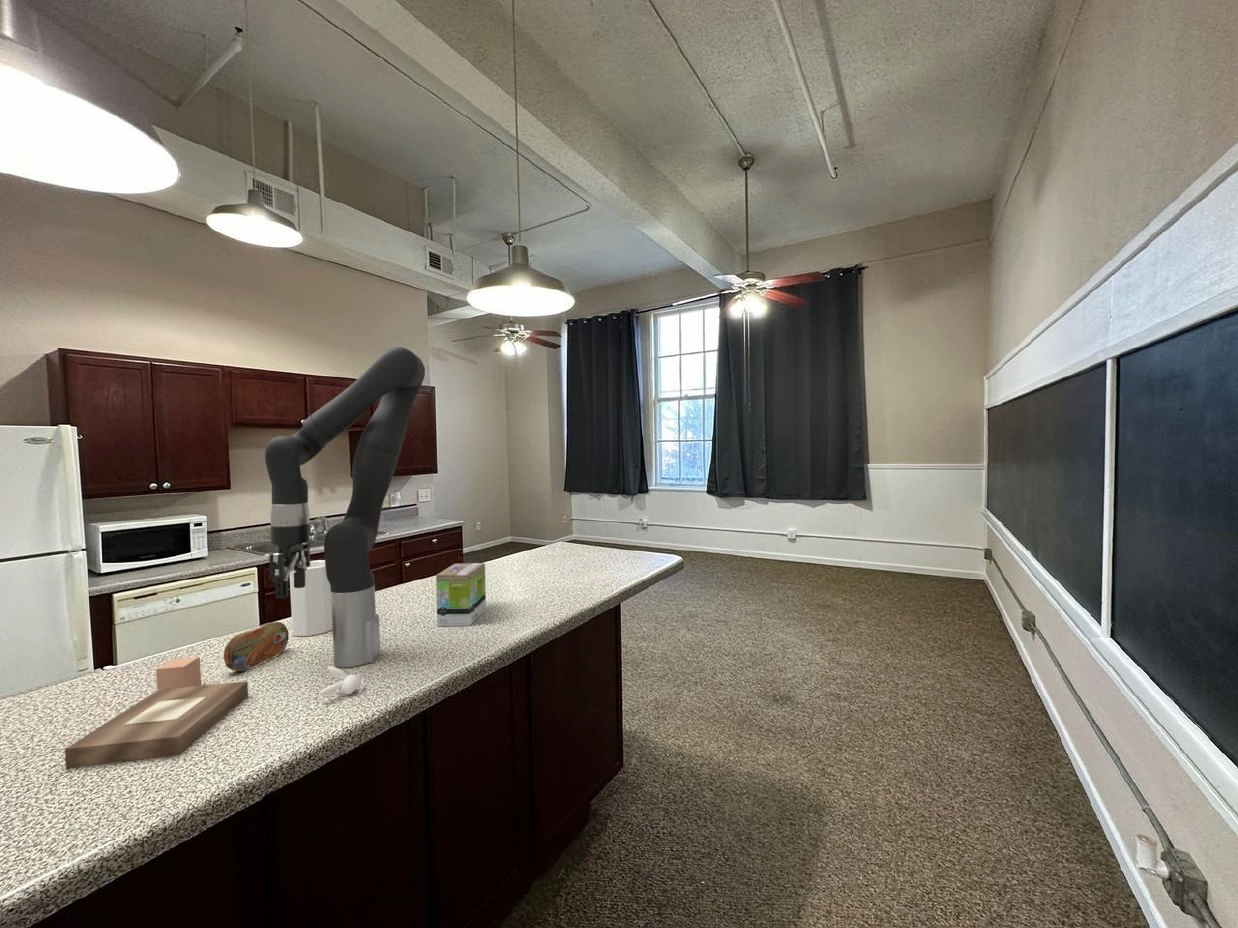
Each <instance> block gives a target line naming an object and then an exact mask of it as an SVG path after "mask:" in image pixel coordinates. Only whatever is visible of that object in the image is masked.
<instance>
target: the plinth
mask: <svg viewBox="0 0 1238 928" xmlns="http://www.w3.org/2000/svg"><path fill="white" fill-rule="evenodd" d="M248 689H249V687H248V680H247V681H237V682H228V683H227V682H226V683H217V684H206V685H199V686H193V687H183V688H173V689H162V690H157V689H156V691H154V692H153V693H150V694H149V695H147V696H146V697H144V698H143V699H141V700H140V701H138V702H137V703H135V704H134V705H132V706H130V707H129V708H127V709H125V710H124V711H123V712H121V713H119V714H118V715H116V716H115V717H113V718H111V719H110V720H109V721H107V722H105V723H104V724H102V725H101V726H99V727H97V728H96V729H94V730H93V731H91V732H89V733H88V734H87V735H85V736H83V737H82V738H80V739H79V740H76V742H74V743H72V744H71V745H69V746H68V747H66V748H64V756H65V757H64V758H65V768H73V767H74V768H76V767H85V766H93V765H101V764H108V763H109V764H111V763H118V762H119V763H120V762H125V761H136V760H143V759H145V760H146V759H153V758H160V757H170V756H171V757H172V756H179V755H181V754H182V753H183V752H184V751H186V750H187V749H188V748H189V747H190V746H191V745H193V744H194V743H195V742H196V741H197V740H198V739H199V738H200V737H202V736H203V735H204V734H206V733H207V732H208V731H209V730H210V729H211V728H212V727H214V726H215V725H216V724H217V723H219V722H220V720H221V719H223V718H224V717H225V716H227V715H228V714H229V713H230V712H231V711H232V710H233V709H235V708H236V707H237V706H238V705H239V704H241V703H242V702H243V701H244V700H245V699H246V698H248V696H249V690H248Z"/></svg>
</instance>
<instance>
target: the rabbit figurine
mask: <svg viewBox="0 0 1238 928" xmlns="http://www.w3.org/2000/svg"><path fill="white" fill-rule="evenodd" d="M326 668H327V672H328V673H329V674H330V675H331V676H333V677H334V678H336V679H343V680H341V681H338V682H336V683H334V684H332V685H329V686H326V687H325V688H323V689H322V690H320V692H319V695H321V696H326V695H330V694H333V693H334V692H336V691H337V690H339V689H340V688H341V690H342V693H344V694H345V695H347V696H348V695H351V694H352V693H353V692H354V691H355V690H356V691H358V692H357V693H358V694H362V693H363V691H362V690H364V688H365V687H364V684H365V679H364V678H360V677H359V676H358V675H356V674H348V675H347V674H346V672H345V671H344V670H342V669H340V668H339V667H337V666H332V665H331V666H330V665H328V666H327V667H326ZM340 694H341V693H340V692H338V695H337V698H339V697H340Z"/></svg>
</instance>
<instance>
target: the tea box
mask: <svg viewBox="0 0 1238 928" xmlns="http://www.w3.org/2000/svg"><path fill="white" fill-rule="evenodd" d="M435 581H436V582H435V583H436V627H469V626H471V625H472V624H473V623H474V622H475V621H476V620H477V619H478V617H480V616H481V614H483V613H484V612H485V611H486V610H487V606H486V605H487V599H486V598H487V597H486V595H487V594H486V593H487V591H486V564H485V563H484V562H482V563H481V562H479V563H478V562H476V563H475V562H473V563H469V562H468V563H463V562H462V563H453V564H452V565H450V566H449V567H447V568H446V569H445V568H444V569H443V570H442V571H441V572H439V573H437V574H436V580H435Z"/></svg>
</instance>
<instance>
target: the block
mask: <svg viewBox="0 0 1238 928" xmlns="http://www.w3.org/2000/svg"><path fill="white" fill-rule="evenodd" d="M155 674H156V691H157V690H162V689H173V688H183V687H193V686H198V685H199V684H200V685H202V679H201V678H202V676H201V657H200V656H195V657H194V656H193V657H182V658H172V660H169V661H168V662H166V663H164V664H163V665H161V666H159V667H157V668H156V669H155ZM200 685H199V686H200Z"/></svg>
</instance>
